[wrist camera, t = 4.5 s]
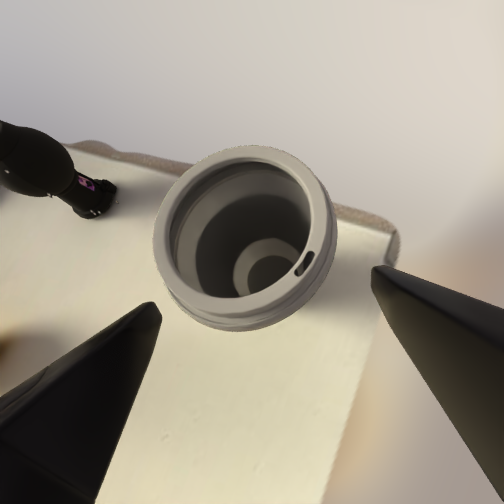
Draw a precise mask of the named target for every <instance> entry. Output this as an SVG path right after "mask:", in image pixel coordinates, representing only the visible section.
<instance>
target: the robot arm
mask: <svg viewBox="0 0 504 504" xmlns="http://www.w3.org/2000/svg"><path fill="white" fill-rule="evenodd" d="M371 289H372V291H373V293H374V295H375V297H376V299H377V302H378V304H379V306H380V308H381V310H382V312H383V314H384V316H385V318H386V320H387V322H388V324H389V325H390V327H391V329H392V330H393V332H394V334H395V335H396V337H397V338H398V340H399V342H400V343H401V345H402V346H403V348H404V349H405V351H406V352H407V354H408V355H409V357H410V358H411V360H412V362H413V363H414V365H415V366H416V368H417V369H418V371H419V372H420V374H421V376H422V377H423V379H424V380H425V382H426V383H427V385H428V386H429V388H430V390H431V391H432V393H433V394H434V396H435V397H436V399H437V400H438V402H439V403H440V405H441V406H442V408H443V409H444V411H445V413H446V414H447V416H448V417H449V419H450V420H451V422H452V423H453V425H454V427H455V428H456V430H457V431H458V433H459V434H460V436H461V437H462V439H463V441H464V442H465V444H466V445H467V447H468V448H469V450H470V451H471V453H472V455H473V456H474V458H475V459H476V461H477V462H478V464H479V465H480V467H481V468H482V470H483V472H484V473H485V475H486V476H487V478H488V479H489V481H490V482H491V484H492V485H493V487H494V488H495V490H496V492H497V493H498V495H499V496H500V498H501V499H502V501H503V502H504V309H502V308H500V307H497V306H494V305H491V304H489V303H486V302H483V301H481V300H478V299H475V298H472V297H470V296H467V295H464V294H462V293H459V292H456V291H454V290H451V289H448V288H445V287H442V286H440V285H437V284H434V283H432V282H429V281H426V280H424V279H421V278H418V277H415V276H413V275H410V274H407V273H405V272H402V271H399V270H396V269H394V268H391V267H388V266H386V265H381V266H375V267H373V268H372V270H371ZM161 323H162V315H161V313H160V311H159V309H158V308H157V306H156V304H155V303H154V302H145V303H142V304H141V305H139V306H138V307H136V308H135V309H133V310H132V311H130V312H129V313H127V314H126V315H124V316H123V317H121V318H120V319H118V320H117V321H115V322H114V323H112V324H111V325H109V326H108V327H106V328H105V329H103V330H102V331H100V332H99V333H97V334H96V335H94V336H93V337H91V338H90V339H88V340H87V341H85V342H84V343H82V344H81V345H79V346H77V347H76V348H74V349H73V350H71V351H70V352H68V353H67V354H65V355H64V356H62V357H61V358H59V359H58V360H56V361H55V362H53V363H52V364H51V365H50V366H47V367H46V368H44V369H43V370H41V371H40V372H38V373H37V374H35V375H34V376H32V377H31V378H29V379H27V380H26V381H24V382H23V383H21V384H20V385H18V386H17V387H15V388H14V389H12V390H10V391H9V392H7V393H6V394H4V395H3V396H1V397H0V504H95V499H96V498H97V496H98V493H99V490H100V488H101V485H102V483H103V480H104V478H105V475H106V472H107V470H108V467H109V465H110V462H111V460H112V457H113V454H114V452H115V449H116V447H117V444H118V442H119V439H120V436H121V434H122V431H123V429H124V426H125V424H126V421H127V418H128V416H129V413H130V411H131V408H132V406H133V403H134V400H135V398H136V395H137V393H138V390H139V388H140V385H141V383H142V380H143V377H144V375H145V372H146V370H147V367H148V365H149V362H150V359H151V357H152V354H153V351H154V347H155V344H156V340H157V337H158V333H159V330H160V326H161Z"/></svg>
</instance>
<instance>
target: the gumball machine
mask: <svg viewBox="0 0 504 504" xmlns="http://www.w3.org/2000/svg"><path fill="white" fill-rule="evenodd" d="M0 184H1V185H2V186H4V187H5V188H7V189H9V190H11V191H14V192H16V193H19V194H23V195H28V196H33V197H46V196H49V197H51V198H52V195H54V196H57V197H59V198H60V199H62V200H63V201H64V202H66V203H67V204H69V205H70V206H72V208H73V210H74V212H75V213H76V214H78V215H79V216H80V217H82V218H85V219H92V218H95V217H97V216H99V215H101V214H102V213H103V212H105V210H106V209H107V208H108V207H109V205H110V203H111V201H112V198H113V194H114V193H115V192H116V189H117V188H116V186H115V185H114V184H112V183H111V182H110V181H107V180H104V179H103V180H98V179H94V180H93V179H91V178H89V177H87V176H85V175H83V174H81V173H79V172H77V171H76V170H75V169H74V163H73V161H72V159H71V157H70V155H69V153H68V152H67V150H66V149H65V148H64V147H63V146H62V145H61V144H60V143H59V142H58V141H56V140H55V139H53V138H52V137H50V136H49V135H47V134H45V133H43V132H41V131H38V130H36V129H32V128H28V127H20V126H15V125H12V124H9V123H7V122H3V121H1V120H0ZM115 201H116V200H115ZM116 203H118V201H116ZM118 204H119V203H118Z"/></svg>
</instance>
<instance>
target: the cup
mask: <svg viewBox="0 0 504 504" xmlns="http://www.w3.org/2000/svg"><path fill="white" fill-rule="evenodd" d="M152 243H153V255H154V259H155V263H156V266H157V270H158V272H159V274H160V276H161V278H162V279H163V282H164V285H165V287H166V289H167V291H168V293H169V294H170V296H171V298H172V299H173V301H174V302H175V303H176V304H177V305H178V306H179V307H180V309H181V310H182V311H184V312H185V313H186V314H188V315H189V316H190V317H192V318H193V319H194V320H196V321H197V322H199V323H201V324H203V325H206V326H208V327H211V328H214V329H218V330H223V331H232V332H242V331H251V330H257V329H261V328H264V327H267V326H270V325H273V324H275V323H277V322H279V321H281V320H283V319H285V318H287V317H288V316H290V315H292V314H293V313H294V312H296V311H297V310H298V309H300V308H301V307H302V306H303V305H304V304H305V303H306V302H307V301H308V300H309V299H310V298H311V297H312V296H313V295H314V294H315V292H316V291H317V290H318V288H319V287H320V286H321V284H322V283H323V281H324V279H325V277H326V276H327V274H328V272H329V269H330V267H331V264H332V262H333V259H334V255H335V251H336V245H337V221H336V215H335V211H334V207H333V204H332V202H331V199H330V197H329V194H328V192H327V190H326V189H325V187H324V185H323V184H322V183H321V182H320V180H319V179H318V178H317V177H316V176H315V175H314V174H313V172H312V171H311V170H310V169H309V168H308V167H307V166H306V165H305V164H304V163H303V162H301V161H300V160H299V159H298V158H296V157H294V156H292V155H290V154H288V153H287V152H285V151H281V150H278V149H275V148H272V147H266V146H258V145H251V146H238V147H234V148H229V149H225V150H222V151H220V152H217V153H215V154H212V155H210V156H208V157H207V158H205V159H203V160H201V161H199V162H198V163H196V164H195V165H194V166H192V167H191V168H190V169H189V170H187V171H186V172H185V173H184V174H183V175H182V176H181V177H180V178H179V179H178V180H177V181H176V182H175V183H174V185H173V186H172V188H171V189H170V190H169V192H168V193H167V195H166V196H165V198H164V200H163V202H162V204H161V206H160V208H159V210H158V214H157V217H156V220H155V223H154V230H153V238H152Z"/></svg>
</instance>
